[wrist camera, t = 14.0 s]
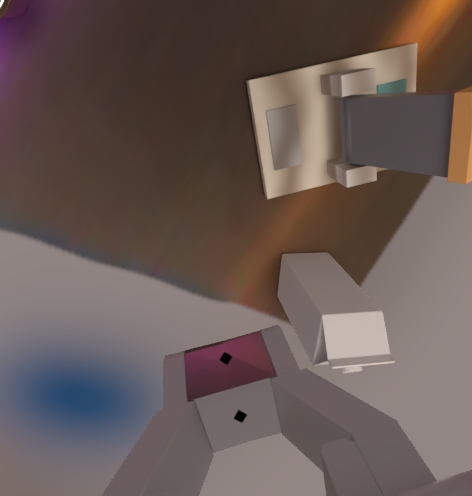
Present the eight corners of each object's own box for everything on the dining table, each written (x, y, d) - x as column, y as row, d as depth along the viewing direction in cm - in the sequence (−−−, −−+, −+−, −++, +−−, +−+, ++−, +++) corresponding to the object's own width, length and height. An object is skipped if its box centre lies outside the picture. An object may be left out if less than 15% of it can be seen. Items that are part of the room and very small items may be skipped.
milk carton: (281, 253, 51) (338, 339, 35) (327, 251, 53) (404, 334, 36) (276, 295, 55) (326, 393, 38) (320, 292, 56) (387, 386, 39)
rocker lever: (340, 164, 42) (465, 184, 31) (336, 97, 38) (475, 91, 27) (355, 158, 43) (482, 174, 32) (353, 92, 39) (494, 84, 28)
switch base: (264, 195, 47) (279, 213, 41) (245, 80, 41) (260, 81, 35) (406, 160, 49) (441, 172, 42) (409, 43, 42) (451, 38, 36)
